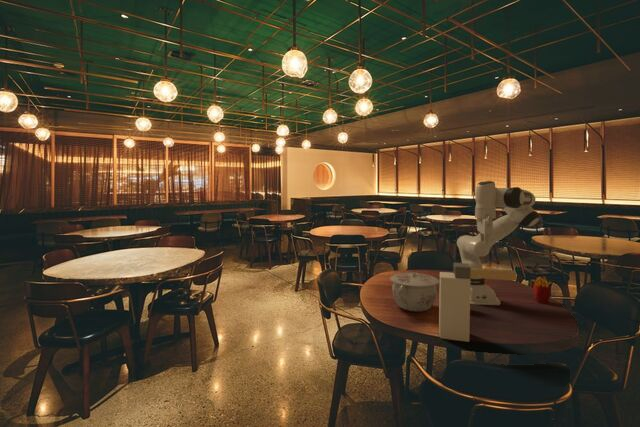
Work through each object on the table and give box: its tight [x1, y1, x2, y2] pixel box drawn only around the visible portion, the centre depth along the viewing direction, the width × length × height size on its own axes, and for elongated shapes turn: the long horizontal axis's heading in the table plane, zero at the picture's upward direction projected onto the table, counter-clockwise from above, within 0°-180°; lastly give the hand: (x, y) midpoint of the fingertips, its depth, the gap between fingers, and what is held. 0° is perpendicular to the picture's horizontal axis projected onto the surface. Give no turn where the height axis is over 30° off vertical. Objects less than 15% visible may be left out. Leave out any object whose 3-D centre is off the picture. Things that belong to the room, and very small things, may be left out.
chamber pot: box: [389, 271, 440, 313], centre depth 175 cm, size 28×28×21 cm
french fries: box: [531, 276, 552, 304], centre depth 183 cm, size 9×8×15 cm
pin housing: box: [438, 262, 471, 343], centre depth 140 cm, size 12×10×33 cm
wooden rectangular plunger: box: [470, 267, 517, 282], centre depth 135 cm, size 21×4×4 cm, turn 71°
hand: (484, 242), depth 150 cm, fingers open, 8 cm apart
